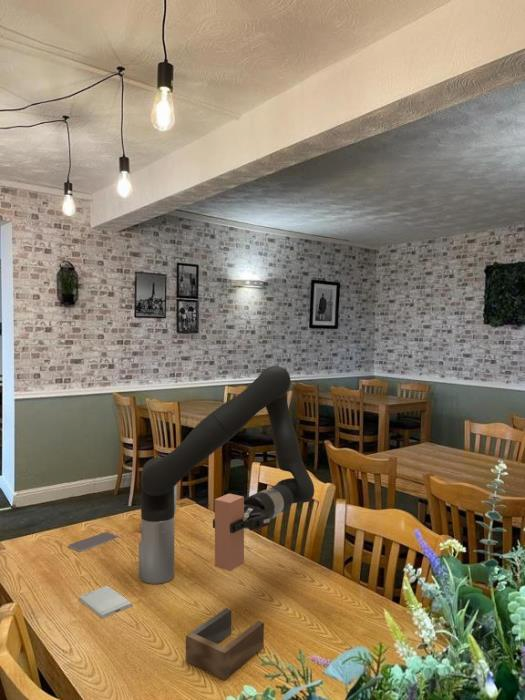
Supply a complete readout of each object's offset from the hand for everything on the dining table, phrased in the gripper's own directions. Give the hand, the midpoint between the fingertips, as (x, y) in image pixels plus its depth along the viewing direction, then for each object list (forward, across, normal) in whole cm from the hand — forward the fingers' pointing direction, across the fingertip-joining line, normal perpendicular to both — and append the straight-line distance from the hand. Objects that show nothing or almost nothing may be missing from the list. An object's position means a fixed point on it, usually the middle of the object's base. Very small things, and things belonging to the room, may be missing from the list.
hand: (222, 526), depth 121 cm
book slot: (+7, +7, +24) cm, 26 cm away
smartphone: (-14, -66, +24) cm, 72 cm away
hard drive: (+9, -31, +24) cm, 41 cm away
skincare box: (-39, -61, +24) cm, 76 cm away
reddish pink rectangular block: (-3, 0, +10) cm, 10 cm away
